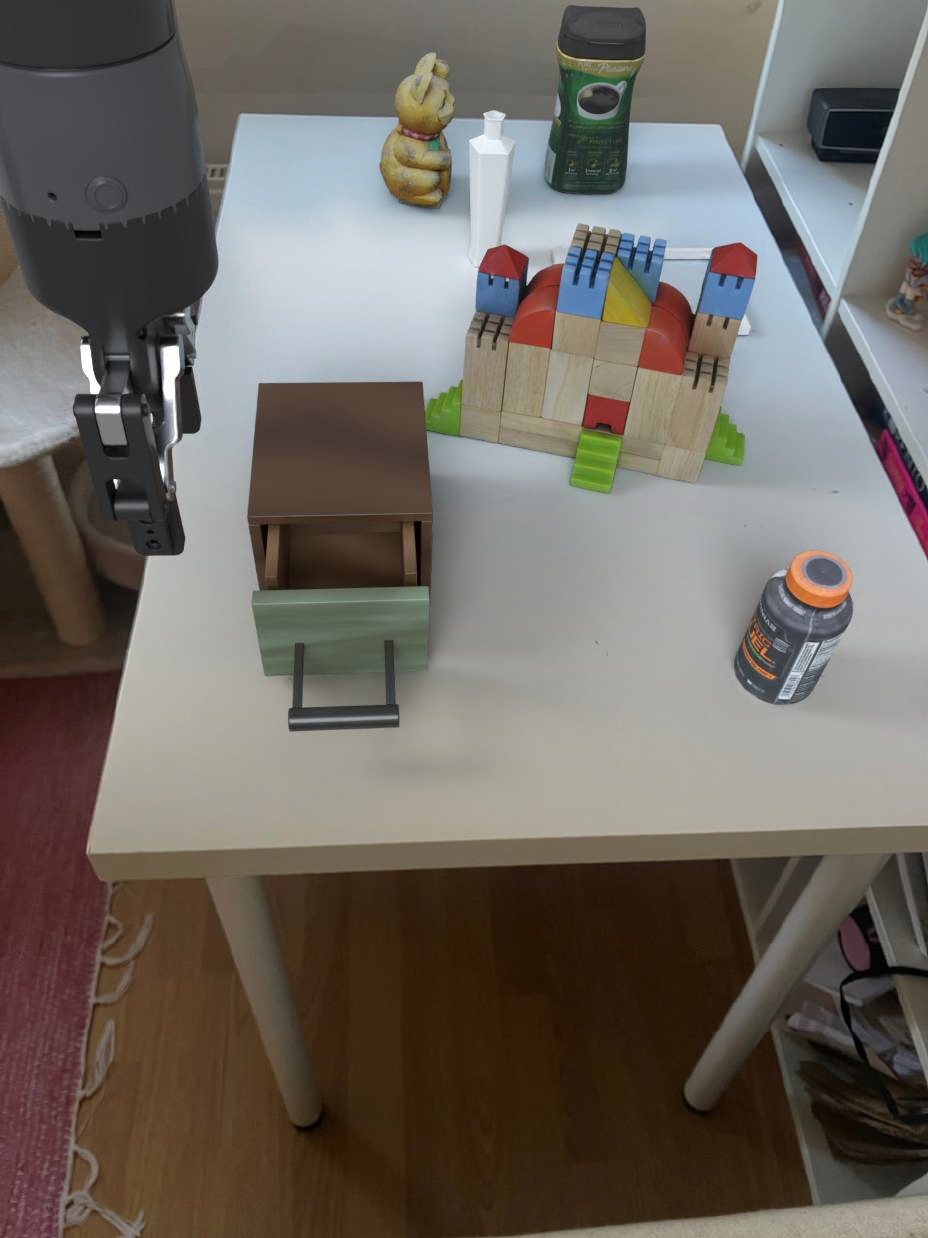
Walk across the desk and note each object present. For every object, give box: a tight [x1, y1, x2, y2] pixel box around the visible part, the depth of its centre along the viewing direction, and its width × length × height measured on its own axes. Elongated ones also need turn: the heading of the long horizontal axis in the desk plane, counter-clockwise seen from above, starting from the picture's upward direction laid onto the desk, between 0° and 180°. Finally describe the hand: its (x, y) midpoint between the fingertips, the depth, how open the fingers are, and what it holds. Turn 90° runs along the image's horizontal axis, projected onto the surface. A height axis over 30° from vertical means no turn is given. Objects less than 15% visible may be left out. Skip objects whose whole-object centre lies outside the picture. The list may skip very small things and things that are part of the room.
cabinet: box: [246, 381, 434, 599], centre depth 77 cm, size 15×13×10 cm
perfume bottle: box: [466, 109, 516, 268], centre depth 102 cm, size 5×4×15 cm
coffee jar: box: [543, 4, 647, 195], centre depth 112 cm, size 10×8×19 cm
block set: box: [425, 222, 759, 494], centre depth 82 cm, size 28×14×19 cm, turn 76°
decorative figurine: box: [378, 51, 456, 209], centre depth 109 cm, size 10×8×15 cm
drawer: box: [251, 521, 431, 733], centre depth 70 cm, size 20×11×8 cm, turn 4°
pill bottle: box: [733, 549, 854, 706], centre depth 69 cm, size 6×6×11 cm
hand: (171, 486), depth 49 cm, fingers open, 8 cm apart
